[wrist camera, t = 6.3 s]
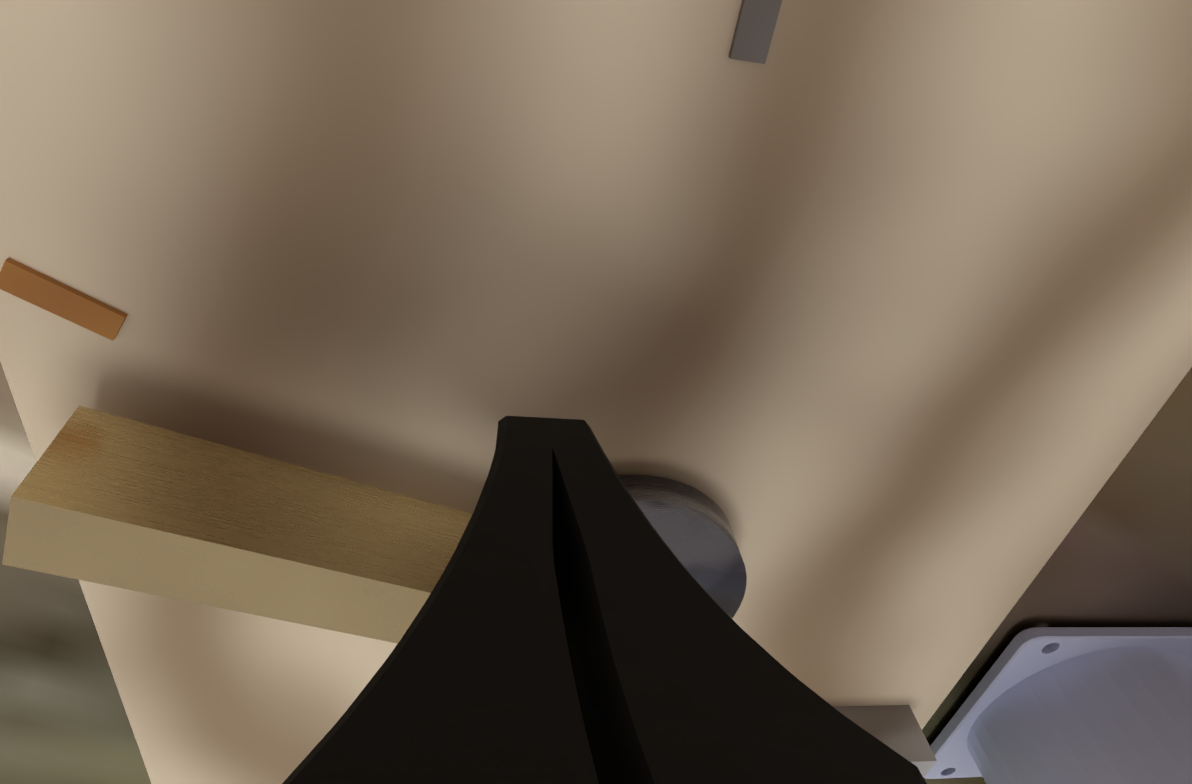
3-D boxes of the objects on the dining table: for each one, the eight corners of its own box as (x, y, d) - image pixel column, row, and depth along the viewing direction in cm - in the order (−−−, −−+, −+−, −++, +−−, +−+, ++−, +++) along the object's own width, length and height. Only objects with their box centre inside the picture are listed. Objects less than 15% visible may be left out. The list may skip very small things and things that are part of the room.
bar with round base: (110, 293, 11) (25, 393, 9) (779, 514, 15) (823, 614, 13) (67, 520, 13) (-8, 639, 11) (657, 653, 18) (679, 755, 16)
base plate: (1354, 3, 12) (1657, 54, 9) (864, 734, 25) (920, 862, 21) (-138, -302, 8) (-529, -400, 5) (180, 755, 21) (125, 916, 17)
